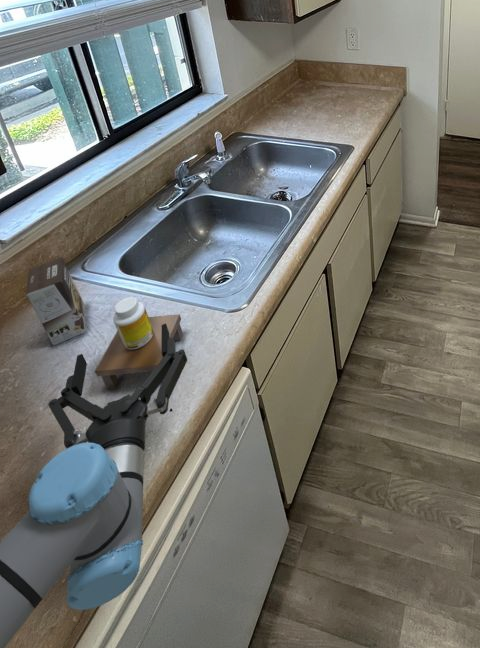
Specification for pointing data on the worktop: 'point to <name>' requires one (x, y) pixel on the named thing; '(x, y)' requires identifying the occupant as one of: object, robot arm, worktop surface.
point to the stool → (137, 352)
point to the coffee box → (56, 300)
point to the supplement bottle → (132, 323)
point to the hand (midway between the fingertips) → (125, 343)
